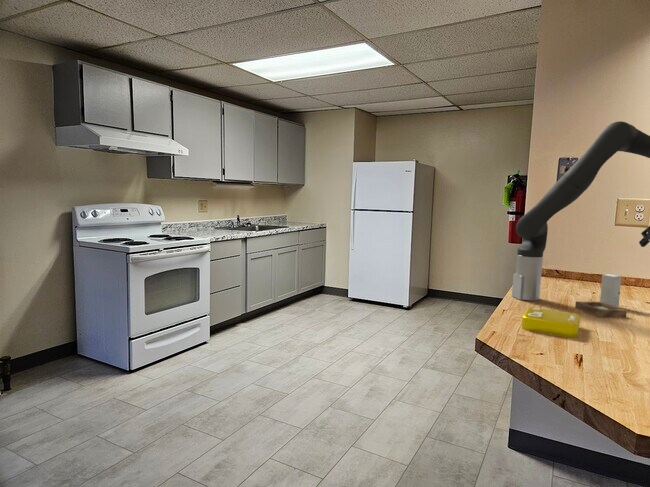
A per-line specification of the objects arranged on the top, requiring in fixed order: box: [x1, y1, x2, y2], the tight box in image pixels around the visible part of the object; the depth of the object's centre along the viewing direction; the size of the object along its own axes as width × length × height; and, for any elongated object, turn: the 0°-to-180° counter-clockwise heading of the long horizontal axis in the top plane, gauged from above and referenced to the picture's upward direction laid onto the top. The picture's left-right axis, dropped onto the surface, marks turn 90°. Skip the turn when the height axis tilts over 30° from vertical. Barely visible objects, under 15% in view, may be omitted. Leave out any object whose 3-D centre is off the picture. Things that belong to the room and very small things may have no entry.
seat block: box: [574, 301, 628, 319], centre depth 152 cm, size 10×12×2 cm
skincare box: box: [599, 273, 622, 308], centre depth 160 cm, size 6×4×12 cm
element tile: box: [521, 306, 581, 339], centre depth 133 cm, size 15×15×5 cm
